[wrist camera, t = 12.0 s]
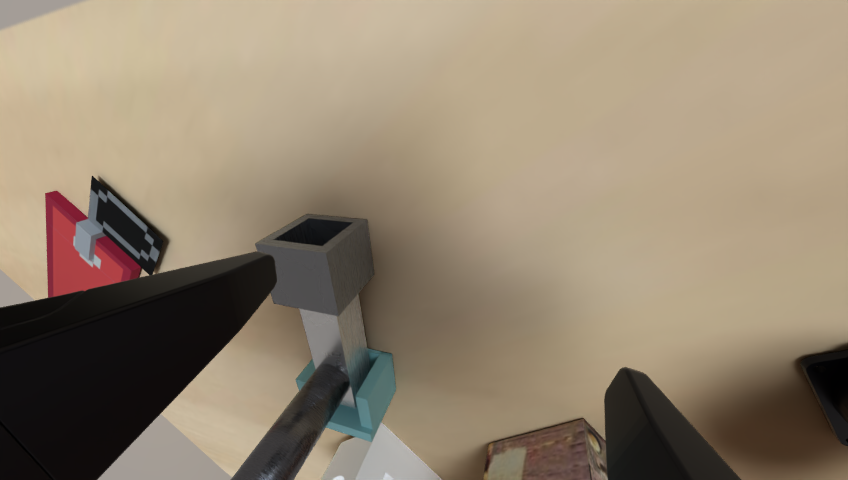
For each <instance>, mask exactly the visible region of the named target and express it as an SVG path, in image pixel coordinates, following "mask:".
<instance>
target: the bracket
mask: <svg viewBox="0 0 848 480" xmlns="http://www.w3.org/2000/svg"><path fill="white" fill-rule="evenodd" d="M321 480H442V479H441V478H440V477H439V476H438V475H437V474H436V473H435V472H434V471H433V470H432V469H430V468H429V467H428V466H427V465H426V464H425V463H424V462H423V461H422V460H421V459H420V458H419V457H418V456H417V455H416V454H415V453H414V452H413V451H411V450H410V449H409V448H408V447H407V446H406V445H405V444H404V443H403V442H402V441H401V440H400V439H399V438H398V437H397V436H396V435H395V434H394V433H392V432H391V431H390V430H389V429H388V428H387V427H386V426H385V425H384V424H383V423H382V422H381V423H380V426H379V428H378V430H377V432H376V434H375V436H374V439H373V441H372V442H369V441H366V440H363V439H360V438H357V437H354V438H352V439H349V440H346V441H344V442H341V444H340V446H339V447H338V449H337V451H336V453H335V455H334V457H333V459H332V460H331V462H330V464H329V466H328V468H327V470H326V471H325V473H324V475H323V477H322V479H321Z"/></svg>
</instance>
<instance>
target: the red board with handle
mask: <svg viewBox="0 0 848 480" xmlns="http://www.w3.org/2000/svg"><path fill="white" fill-rule="evenodd" d="M45 198H46V235H47V271H48V298H50V297H54V296H59V295H64V294H68V293H73V292H77V291H82V290H84V291H86V290H87V289H91V288H95V287H100V286H104V285H109V284H113V283H118V282H122V281H127V280H131V279H136V278H138V277H139V273H140V270H141V268H142V269H144V270H145V271H146V272H147V273H148V274H149V275H152V274H153V271H154V268H155V265H156V262H157V259H158V256H159V253H160V250H161V246H162V243H163V241H162V240H161V239H160V238H159V237H158V236H157V235H156V234H155V233H154V232H153V231H152V230H150V229H149V228H148V227H147V226H146V225H145V224H144V223H143V222H142V221H141V220H140V219H139V218H137V217H136V216H135V215H134V214H133V213H132V212H131V211H130V210H129V209H128V208H127V207H126V206H124V205H123V204H122V203H121V202H120V201H119V200H118V199H117V198H116V197H115V196H114V195H113V194H111V193H110V192H109V191H108V190H107V189H106V188H105V187H104V186H103V185H102V184H101V183H100V182H98V181H97V180H96V179H95V178H94V177H93V176H92V180H91V191H90V202H89V213H88V218H87V217H86V216H85V215H84V214H83V213H82V212H81V211H80V210H78V209H77V208H76V207H75V206H74V205H73V204H72V203H71V202H69V201H68V200H67V199H66V198H65V197H64V196H63V195H61V194H60V193H59V192H58V191H53V192H49V193H45Z"/></svg>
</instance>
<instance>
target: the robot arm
mask: <svg viewBox="0 0 848 480" xmlns="http://www.w3.org/2000/svg"><path fill="white" fill-rule="evenodd" d="M276 283H277V274H276V266H275V259H274V257H273V256H272V255H270V254H267V253H264V252H253V253H248V254H244V255H239V256H235V257H230V258H226V259H221V260H217V261H212V262H208V263H203V264H199V265H194V266H190V267H185V268H181V269H176V270H172V271H167V272H163V273H158V274H154V275H149V276H145V277H140V278H136V279H131V280H127V281H122V282H118V283H113V284H109V285H104V286H100V287H95V288H91V289H87V290H86V291H84V290H82V291H77V292H73V293H68V294H64V295H59V296H54V297H50V298H45V299H40V300H36V301H31V302H26V303H22V304H16V305H11V306H6V307H1V308H0V480H97V479H98V478H99V477H100V476H101V475H102V474H103V473H104V472H105V471H106V470H107V469H108V468H109V467H110V466H111V465H112V464H113V463H114V462H115V460H117V459H118V457H119V456H120V455H121V454H122V453H123V452H124V451H125V450H126V449H127V448H128V447H129V446H130V445H131V444H132V443H133V442H134V440H136V439H137V438H138V437H139V436H140V435H141V433H142V432H143V431H144V430H145V429H146V428H147V427H148V426H149V425H150V424H151V423H152V422H153V421H154V420H155V419H156V418H157V417H158V416H159V415H160V414H161V413H162V412H163V411H164V409H165V408H166V407H167V406H168V405H169V404H170V403H171V402H172V401H173V400H174V399H175V398H176V397H177V396H178V395H179V394H180V393H181V392H182V391H183V390H184V389H185V388H186V387H187V385H188V384H189V383H190V382H191V381H192V380H193V379H194V378H195V377H196V376H197V375H198V374H199V373H200V372H201V371H202V370H203V369H204V368H205V367H206V366H207V365H208V364H209V362H210V361H211V360H212V359H213V358H214V357H215V356H216V355H217V354H218V353H219V352H220V351H221V350H222V349H223V348H224V347H225V346H226V345H227V344H228V343H229V342H230V341H231V340H232V338H233V337H234V336H235V335H236V334H237V333H238V332H239V331H240V330H241V329H242V327H243V326H244V325H245V324H246V322H247V321H248V320H249V319H250V317H251V316H252V315H253V314H254V312H255V311H256V310H257V309H258V307H259V306H260V305H261V304H262V302H263V301H264V300H265V299H266V297H267V296H268V295H269V294H270V292H271V291H272V290H273V289H274V287H275V285H276ZM816 366H817V367H816ZM801 367H802V369H803V371H804V373H805V376H806V378H807V380H808V382H809V384H810V386H811V388H812V390H813V392H814V394H815V396H816V398H817V400H818V402H819V404H820V406H821V409H822V411H823V413H824V415H825V417H826V419H827V421H828V423H829V425H830V427H831V429H832V431H833V433H834V435H835V436H836V437H837V439H838V440H839V441H840V442H841V443H842V444H844V445H846V446H848V350H846V351H840V352H835V353H829V354H823V355H818V356H812V357H808V358H805V359H804V360H802V362H801ZM604 404H605V438H606V466H607V478H608V480H741V479H740V478H739V477H738V476H737V475H736V473H735V472H734V471H733V470H732V469H731V468H730V467H729V466H728V465H727V463H726V462H725V461H724V460H723V459H722V458H721V457H720V456H719V455H718V453H717V452H716V451H715V450H714V449H713V448H712V447H711V446H710V445H709V444H708V442H707V441H706V440H705V439H704V438H703V437H702V436H701V435H700V434H699V432H698V431H697V430H696V429H695V428H694V427H693V426H692V425H691V424H690V422H689V421H688V420H687V419H686V418H685V417H684V416H683V415H682V414H681V412H680V411H679V410H678V409H677V408H676V407H675V406H674V405H673V404H672V403H671V401H670V400H669V399H668V398H667V397H666V396H665V395H664V394H663V393H662V391H661V390H660V389H659V388H658V387H657V386H656V385H655V384H654V383H653V381H652V380H651V379H650V378H649V377H648V376H647V375H646V374H644V373H643V372H640V371H637V370H634V369H630V368H627V367H623V368H621V369H620V370H619V371H618V373H617V375H616V376H615V378H614V379H613V381H612V382H611V384H610V385H609V387H608V388H607V390H606V393H605V399H604Z"/></svg>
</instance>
